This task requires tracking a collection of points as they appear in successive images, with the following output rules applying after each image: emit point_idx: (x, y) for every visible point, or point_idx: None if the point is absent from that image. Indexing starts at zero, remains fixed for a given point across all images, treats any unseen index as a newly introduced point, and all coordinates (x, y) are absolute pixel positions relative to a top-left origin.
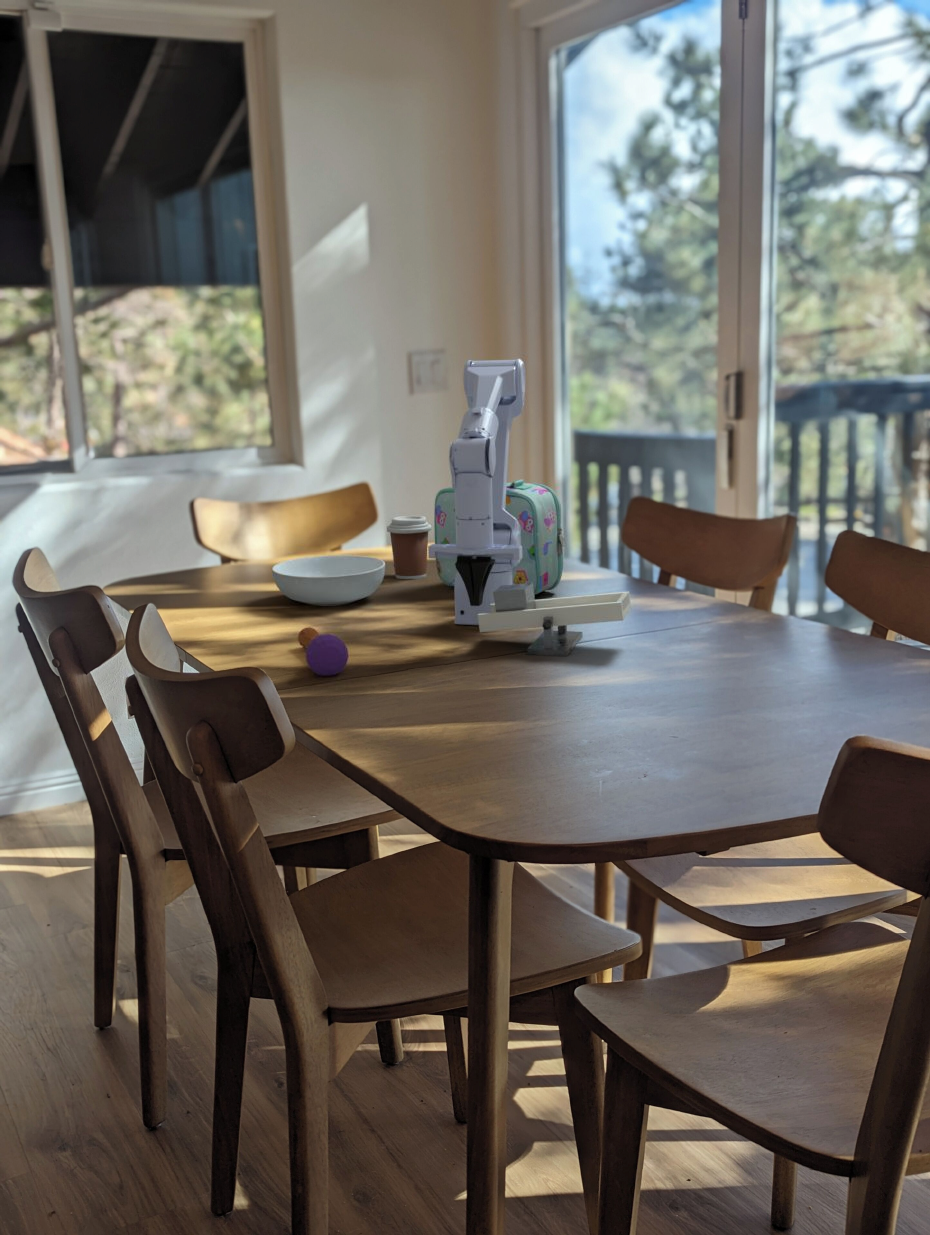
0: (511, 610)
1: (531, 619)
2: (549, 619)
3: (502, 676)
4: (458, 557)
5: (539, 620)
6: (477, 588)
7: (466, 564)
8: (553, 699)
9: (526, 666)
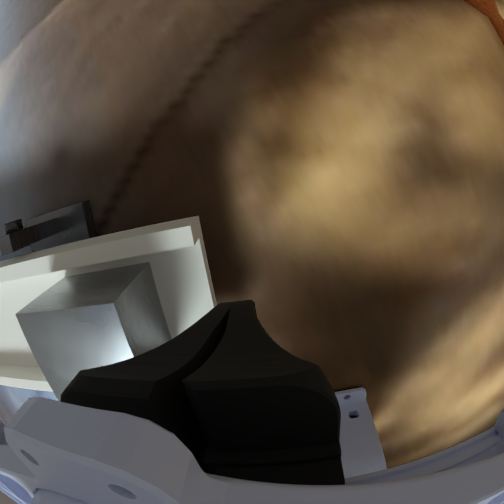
0: (91, 280)
1: (45, 252)
2: (2, 236)
3: (82, 34)
4: (330, 478)
5: (33, 254)
6: (197, 330)
7: (200, 385)
8: (13, 10)
9: (61, 113)
